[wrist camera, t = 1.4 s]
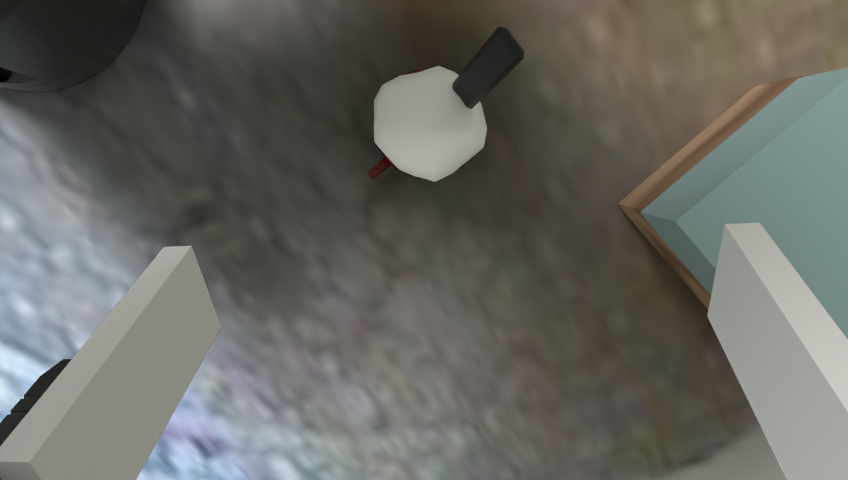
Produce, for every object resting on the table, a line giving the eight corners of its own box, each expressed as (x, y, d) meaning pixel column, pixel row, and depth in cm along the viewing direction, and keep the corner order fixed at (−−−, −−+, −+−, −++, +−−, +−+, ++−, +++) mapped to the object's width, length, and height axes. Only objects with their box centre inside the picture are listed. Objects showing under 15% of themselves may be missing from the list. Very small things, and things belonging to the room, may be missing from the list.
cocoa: (382, 192, 39) (350, 220, 27) (350, 97, 38) (304, 85, 26) (523, 147, 38) (554, 156, 26) (495, 49, 37) (514, 13, 25)
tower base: (615, 203, 39) (642, 210, 34) (752, 86, 38) (801, 75, 33) (721, 327, 40) (762, 351, 35) (858, 217, 39) (920, 226, 34)
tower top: (639, 212, 34) (675, 221, 29) (798, 78, 33) (863, 64, 28) (759, 353, 35) (814, 386, 30) (917, 228, 34) (1001, 241, 29)
